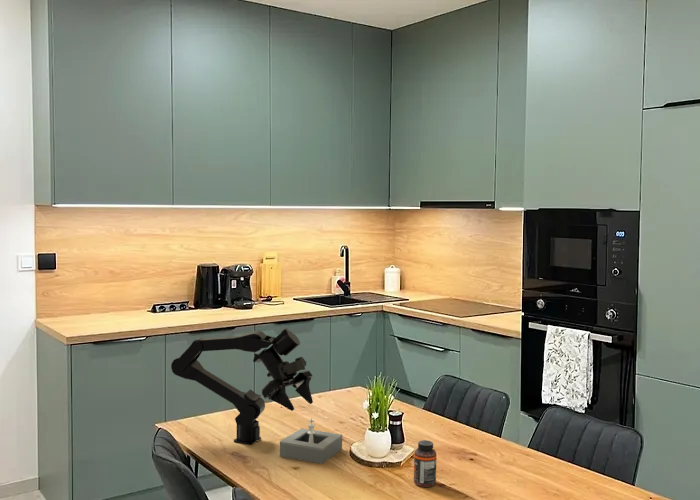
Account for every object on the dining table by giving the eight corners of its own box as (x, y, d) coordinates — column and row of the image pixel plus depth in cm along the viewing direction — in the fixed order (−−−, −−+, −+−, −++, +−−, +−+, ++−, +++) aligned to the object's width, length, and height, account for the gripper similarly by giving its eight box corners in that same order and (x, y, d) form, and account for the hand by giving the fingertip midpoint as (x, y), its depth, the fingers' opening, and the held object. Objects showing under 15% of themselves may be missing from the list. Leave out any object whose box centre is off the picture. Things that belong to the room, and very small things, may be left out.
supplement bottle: (411, 479, 190) (412, 438, 189) (433, 479, 190) (434, 438, 190) (415, 488, 184) (416, 446, 183) (437, 487, 184) (438, 446, 184)
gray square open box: (279, 456, 206) (279, 441, 205) (301, 442, 219) (301, 428, 218) (322, 464, 200) (322, 448, 200) (342, 449, 213) (342, 434, 213)
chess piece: (319, 453, 207) (320, 420, 207) (303, 454, 207) (303, 420, 206) (318, 448, 212) (319, 415, 211) (302, 448, 212) (302, 415, 211)
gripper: (269, 354, 205) (298, 397, 199) (308, 344, 220) (336, 384, 215) (249, 376, 209) (277, 419, 204) (288, 366, 225) (315, 405, 219)
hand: (302, 406), depth 210 cm, fingers open, 9 cm apart
